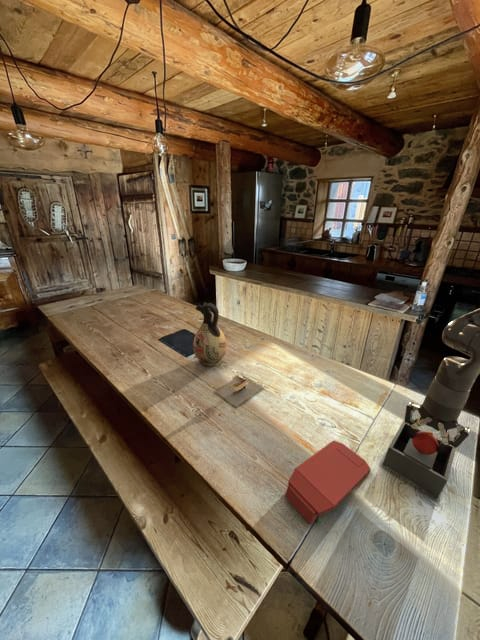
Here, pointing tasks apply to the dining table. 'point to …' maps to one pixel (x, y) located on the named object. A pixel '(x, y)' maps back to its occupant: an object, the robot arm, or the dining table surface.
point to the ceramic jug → (209, 337)
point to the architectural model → (239, 390)
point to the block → (419, 455)
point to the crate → (416, 471)
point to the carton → (325, 480)
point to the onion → (425, 442)
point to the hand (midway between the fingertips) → (424, 443)
